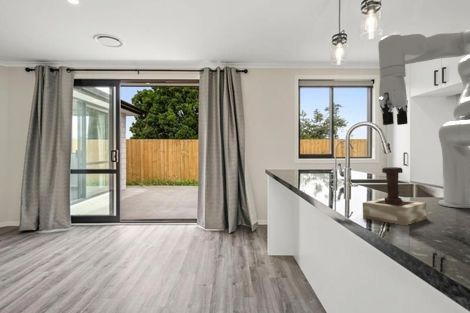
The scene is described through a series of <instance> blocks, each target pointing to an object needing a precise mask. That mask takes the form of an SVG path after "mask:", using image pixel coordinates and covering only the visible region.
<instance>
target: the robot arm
mask: <svg viewBox="0 0 470 313" xmlns="http://www.w3.org/2000/svg"><path fill="white" fill-rule="evenodd" d="M377 46H378V59H379V60H378V63H379V80H380V81H379V86H378V87H379V88H378V89H379V90H378V91H379V92H378V94H379V95H378V97H379V99H378V100H379V101H378V102H379V107H380V109H381V110H380V111H381V113H382V125H383V126H388V125H394V112H393V109H394V108H395V110H396V124H397V125H398V126H400V125H401V126H402V125H408V123H409V122H408V121H409V120H408V103H409V101H408V96H407V85H406V82H405V77H406V74H407V73H406V65H409V64H410V65H411V64H414V63H415V64H416V63H420V62H427V61H433V60H438V59H448V58H449V59H450V58H459V57H463V58H461V60H459V62H458V63H457V72H458V75H459V77H460V79H461V82H462V85H463V87H462V91H461V93H460V96H459V98H458V100H457V102H456V105H455V107H454V108H453V117H454V119H455V120H451V121H447V122H446V123H443V124H442V125H441V126H440V128H439V130H438V138H439V143H440V147H441V153H442V185H443V187H442V188H443V191H442V192H443V199H441V200H438V204H439V205H440V206H444V207H449V208H459V209H460V208H462V209H470V148H469V146H470V28H469V29H466V30H464V31H460V32H454V33H453V32H447V33H437V34H434V35H430V36H428V37H426V36H425V35H423V34H421V33H411V34H404V35H402V34H398V33H396V34H391V35H386V36H384V37H382V38H381V39H380V40H379V41H378V45H377ZM464 56H465V57H464Z"/></svg>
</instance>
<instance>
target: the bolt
mask: <svg viewBox="0 0 470 313" xmlns="http://www.w3.org/2000/svg"><path fill="white" fill-rule="evenodd" d="M381 170H382V171H381V172H382V174H385V176H386V188H387V189H386V191H387V196H386V197H384V198H385V203H386V204H388V205H396V206H399V205H401V204H402V200H403V199H402V198H401V197H400V195H399V192H400V191H399V174H402V173H403V168H402V167H396V166H395V167H393V166H391V167H390V166H389V167H382V169H381Z"/></svg>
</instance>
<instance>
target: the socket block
mask: <svg viewBox="0 0 470 313" xmlns="http://www.w3.org/2000/svg"><path fill="white" fill-rule="evenodd" d="M385 198H386V197H383V198H378V199H374V200H368V201H363V202H362V218H363V219H367V220H373V221H377V222H383V223H387V222H388V223H389V224H393V223H395V225H398V224H399V226H404V225H405V226H404V227H406V225H407V226H409V225H408V224H410V225H412V223H413V224H416V223H419V222H421V221H425V220H426V219H427V217H428V215H427V202H424V201H414V200H406V199H402V204H401V205H399V206H396V205H388V204H386V203H385ZM415 222H416V223H415Z"/></svg>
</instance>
